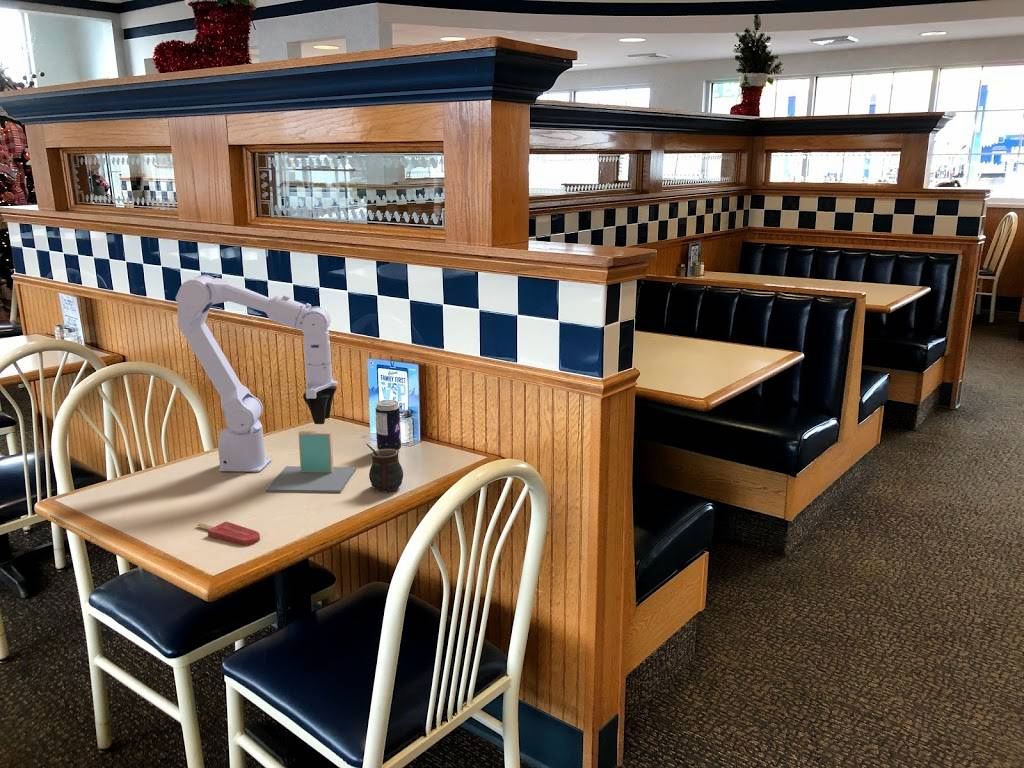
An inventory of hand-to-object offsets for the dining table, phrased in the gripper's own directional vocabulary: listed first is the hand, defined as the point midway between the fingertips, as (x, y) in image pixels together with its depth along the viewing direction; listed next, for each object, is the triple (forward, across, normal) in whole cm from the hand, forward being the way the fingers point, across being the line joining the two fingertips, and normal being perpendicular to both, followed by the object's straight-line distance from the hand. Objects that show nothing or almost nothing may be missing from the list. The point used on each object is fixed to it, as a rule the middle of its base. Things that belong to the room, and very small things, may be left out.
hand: (322, 421), depth 185 cm
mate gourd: (+11, -14, -17) cm, 24 cm away
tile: (+10, -6, 0) cm, 12 cm away
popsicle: (+11, -38, +8) cm, 40 cm away
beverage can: (+11, +10, -13) cm, 20 cm away
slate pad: (+10, -10, 0) cm, 14 cm away
